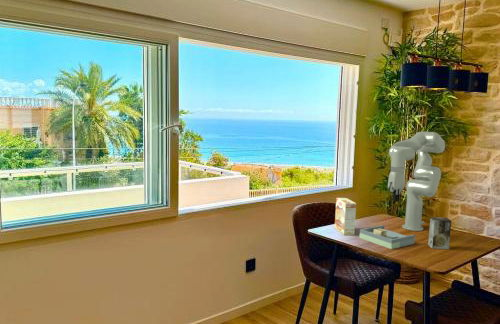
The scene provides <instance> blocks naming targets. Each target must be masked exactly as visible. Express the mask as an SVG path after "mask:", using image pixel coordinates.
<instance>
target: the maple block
mask: <svg viewBox="0 0 500 324" xmlns="http://www.w3.org/2000/svg"><path fill="white" fill-rule="evenodd" d="M387 230H388V229H386V230H383V229H380V228H379V229H374V232H373V233H374V234H377V235H380V236H383V237H386V235H387Z"/></svg>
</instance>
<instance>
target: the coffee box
mask: <svg viewBox="0 0 500 324" xmlns="http://www.w3.org/2000/svg"><path fill="white" fill-rule="evenodd" d="M451 228H452V220H451V219H450V218H449V217H439V216H438V217H436V216H430V219H429V229H428V230H429V232H428V243H427V245H428V246H429V247H430V248H431V249H437V250H441V249H442V250H450V242H451V241H450V240H451V231H452V230H451Z"/></svg>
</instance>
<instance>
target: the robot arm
mask: <svg viewBox="0 0 500 324" xmlns="http://www.w3.org/2000/svg"><path fill="white" fill-rule="evenodd" d="M445 148H446V143H445V141H444V139H443V138H442V137H441V136H440V134H439V133H437V132H436V131H419V132H416V133H415V134H414V135H412V137H410V138H407V139H404V140H400V141H397V142H396V143H395V142H394V144H392V146H390V147H389V150H388V156H389V157H390V158H391V159H390V160H391V162H390V172H389V174H388V181H387V189H389V192H391V193H392V201H393V202H394V201H395V202H399V201H400V195H401V192H402V191H403V190H404V188H405V187H406V188H405V189H406V205H405V206H406V207H405V218H404V219H405V221H404V223H403V224H402V225H401V228H403V229H404V230H407V231H413V232H421V231H424V227H423V226H422V225H425V221H423V220H422V219H423V218H422V216H423V205H424V202H423V199H422V197H429V198H432V197H434V196H435V195H436V194H437V193H436V192H437V190H438V187H439V184H440V180H441V178H442V170H441V169H440V167H438V166H433V165H432V164H433V159H432V157H431V155H430V154H429V153H436V154H437V153H438V154H440V153H443V152H444V151H445ZM416 153H417V161H416V163H415V164H416V165H415V168H414V171H413V173H412V174H413V178H414V179H413V178H412V179H409V180H408V181H407V182H406V173H405V170H406V169H405V167H406V161H410V160H413V159H414V158H415V156H416ZM421 196H422V197H421Z"/></svg>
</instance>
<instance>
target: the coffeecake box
mask: <svg viewBox="0 0 500 324" xmlns="http://www.w3.org/2000/svg"><path fill="white" fill-rule="evenodd" d="M356 213H357V202H355V201H354V200H353V201H352V200H351V199H349V198H347V197H336V199H335V214H334V216H335V217H334V229H335V230H336V231H337V232H338V233H340V234H341V235H342V236H355V230H356Z"/></svg>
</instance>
